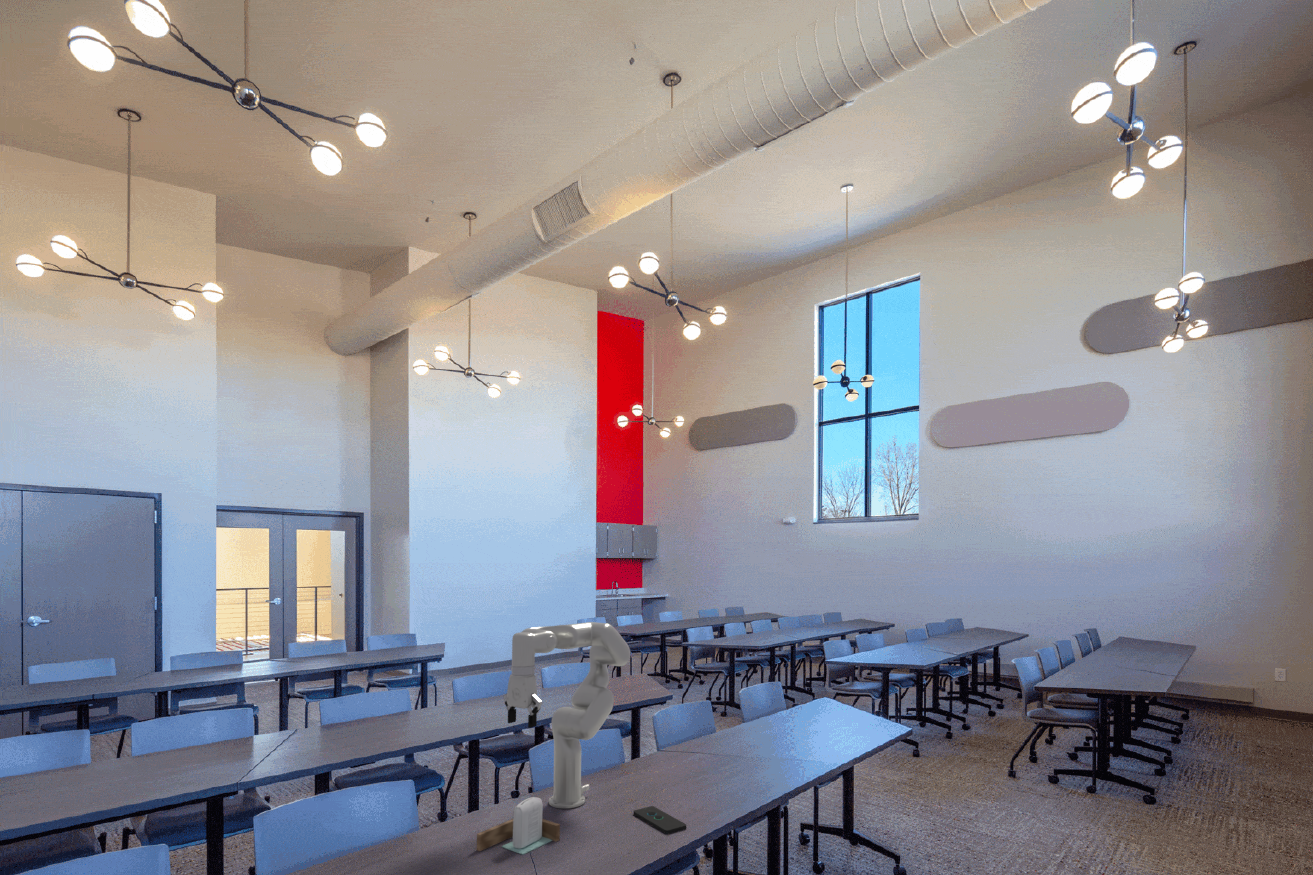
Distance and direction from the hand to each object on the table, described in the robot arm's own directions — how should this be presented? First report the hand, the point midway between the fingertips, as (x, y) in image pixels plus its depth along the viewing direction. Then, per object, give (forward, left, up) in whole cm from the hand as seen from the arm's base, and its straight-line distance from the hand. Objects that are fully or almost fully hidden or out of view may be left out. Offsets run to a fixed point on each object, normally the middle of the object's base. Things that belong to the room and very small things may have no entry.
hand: (521, 724), depth 235 cm
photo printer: (+10, +14, -30) cm, 35 cm away
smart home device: (-27, +36, -31) cm, 55 cm away
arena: (+12, +12, -30) cm, 35 cm away
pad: (+10, +14, -30) cm, 35 cm away
